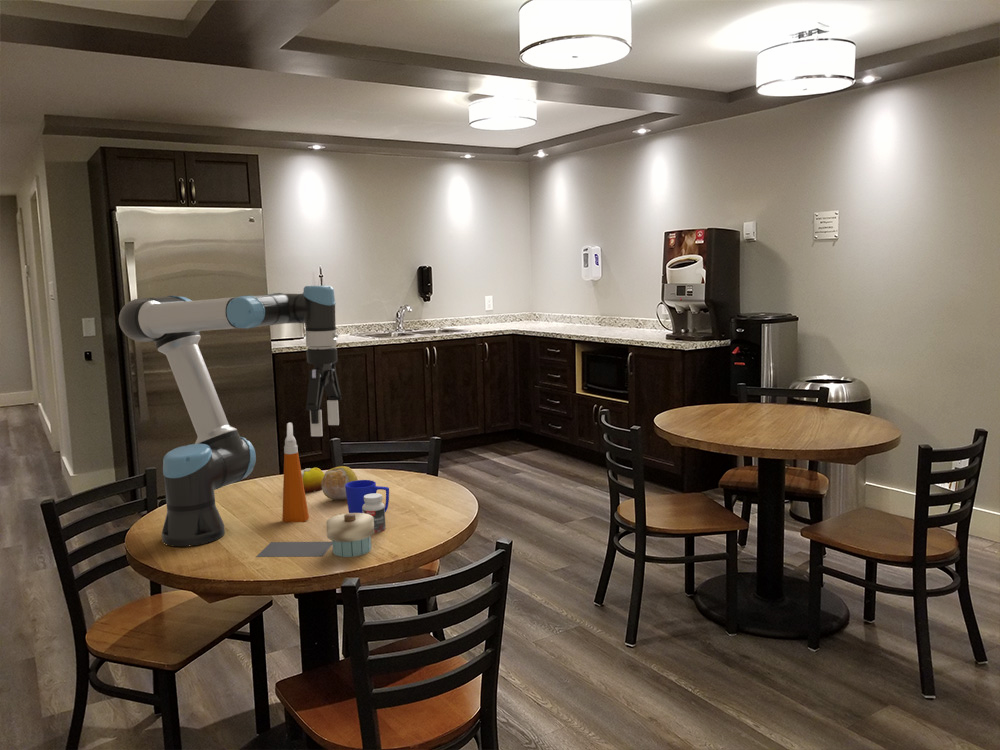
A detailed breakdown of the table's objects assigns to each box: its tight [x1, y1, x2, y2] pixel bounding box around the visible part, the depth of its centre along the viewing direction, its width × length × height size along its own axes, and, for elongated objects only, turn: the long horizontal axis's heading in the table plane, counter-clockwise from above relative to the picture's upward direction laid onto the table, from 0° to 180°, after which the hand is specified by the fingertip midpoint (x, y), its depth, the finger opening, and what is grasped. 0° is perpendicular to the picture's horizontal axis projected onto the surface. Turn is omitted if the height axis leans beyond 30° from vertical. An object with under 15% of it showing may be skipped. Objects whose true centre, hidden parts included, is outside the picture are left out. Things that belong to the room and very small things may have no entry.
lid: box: [325, 512, 375, 542], centre depth 186 cm, size 11×11×5 cm
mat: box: [255, 541, 332, 558], centre depth 189 cm, size 16×10×1 cm, turn 86°
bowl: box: [331, 536, 372, 558], centre depth 187 cm, size 9×9×5 cm
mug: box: [345, 479, 390, 513], centre depth 212 cm, size 8×12×10 cm
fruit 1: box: [301, 467, 325, 494], centre depth 246 cm, size 11×10×8 cm
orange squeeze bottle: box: [281, 422, 310, 523], centre depth 214 cm, size 7×11×26 cm, turn 14°
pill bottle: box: [362, 492, 387, 534], centre depth 201 cm, size 6×6×10 cm
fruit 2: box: [321, 465, 358, 501], centre depth 232 cm, size 10×11×10 cm
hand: (325, 430), depth 199 cm, fingers open, 13 cm apart
